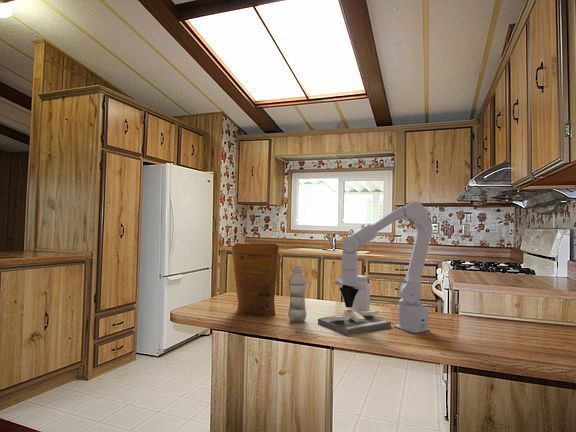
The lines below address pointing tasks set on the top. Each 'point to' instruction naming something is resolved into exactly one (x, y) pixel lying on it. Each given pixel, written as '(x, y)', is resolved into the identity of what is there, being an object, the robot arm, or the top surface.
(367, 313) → the paddle
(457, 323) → the top surface
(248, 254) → the pancake mix bag
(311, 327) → the top surface
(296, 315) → the plastic bottle
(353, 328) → the panel
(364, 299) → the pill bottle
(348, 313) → the paddle middle
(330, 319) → the paddle
